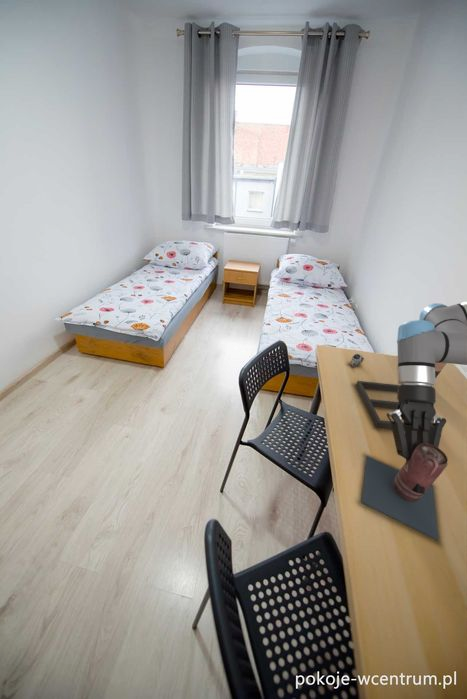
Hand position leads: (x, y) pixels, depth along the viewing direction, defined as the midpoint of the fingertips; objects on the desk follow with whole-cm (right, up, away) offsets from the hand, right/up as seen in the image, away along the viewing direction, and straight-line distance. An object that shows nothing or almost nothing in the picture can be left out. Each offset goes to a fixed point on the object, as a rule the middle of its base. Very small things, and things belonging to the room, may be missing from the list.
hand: (416, 491), depth 62 cm
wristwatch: (+8, +25, +49) cm, 56 cm away
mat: (-1, -4, +6) cm, 7 cm away
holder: (+12, +12, +31) cm, 35 cm away
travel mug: (+30, +19, +44) cm, 56 cm away
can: (0, -3, +5) cm, 6 cm away
